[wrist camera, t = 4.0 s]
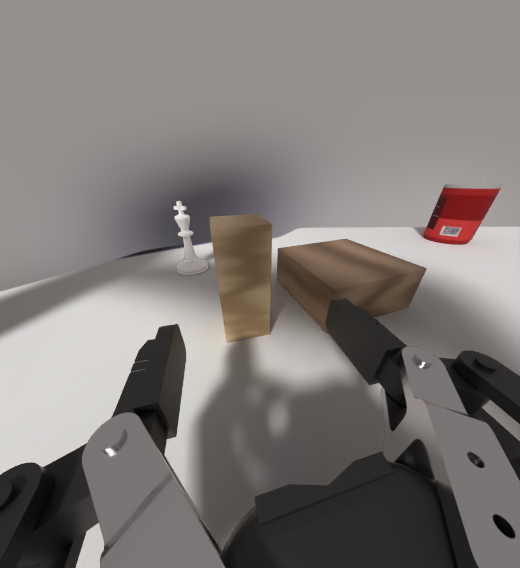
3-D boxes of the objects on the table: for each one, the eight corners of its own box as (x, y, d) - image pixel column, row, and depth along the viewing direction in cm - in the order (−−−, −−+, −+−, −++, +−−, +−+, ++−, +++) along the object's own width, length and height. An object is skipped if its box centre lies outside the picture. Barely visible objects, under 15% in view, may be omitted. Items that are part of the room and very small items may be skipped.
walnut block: (325, 334, 18) (335, 290, 15) (276, 282, 26) (278, 248, 24) (407, 308, 21) (426, 268, 18) (339, 269, 30) (345, 238, 27)
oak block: (226, 342, 17) (210, 228, 12) (223, 314, 20) (209, 216, 15) (269, 334, 17) (272, 224, 12) (259, 308, 21) (258, 214, 16)
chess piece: (188, 261, 33) (175, 199, 28) (214, 263, 32) (204, 199, 26) (170, 273, 29) (149, 203, 24) (198, 277, 27) (183, 203, 22)
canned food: (480, 244, 38) (516, 184, 33) (441, 245, 38) (471, 184, 33) (447, 234, 45) (473, 182, 39) (414, 235, 45) (435, 183, 39)
